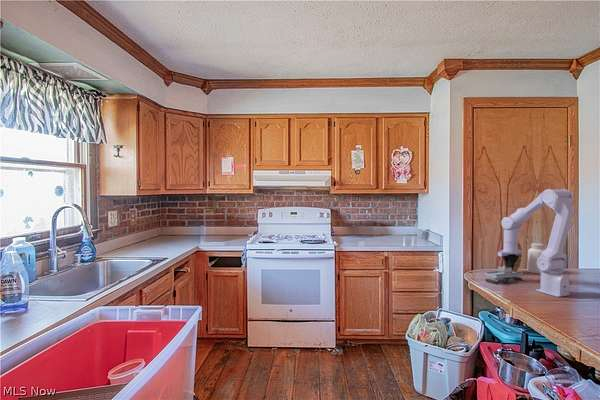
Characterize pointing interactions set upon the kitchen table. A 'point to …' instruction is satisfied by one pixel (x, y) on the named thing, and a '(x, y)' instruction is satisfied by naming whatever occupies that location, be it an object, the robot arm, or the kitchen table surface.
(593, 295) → the kitchen table surface
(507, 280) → the stand
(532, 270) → the pill bottle
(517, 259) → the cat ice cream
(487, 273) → the beam
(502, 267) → the block
